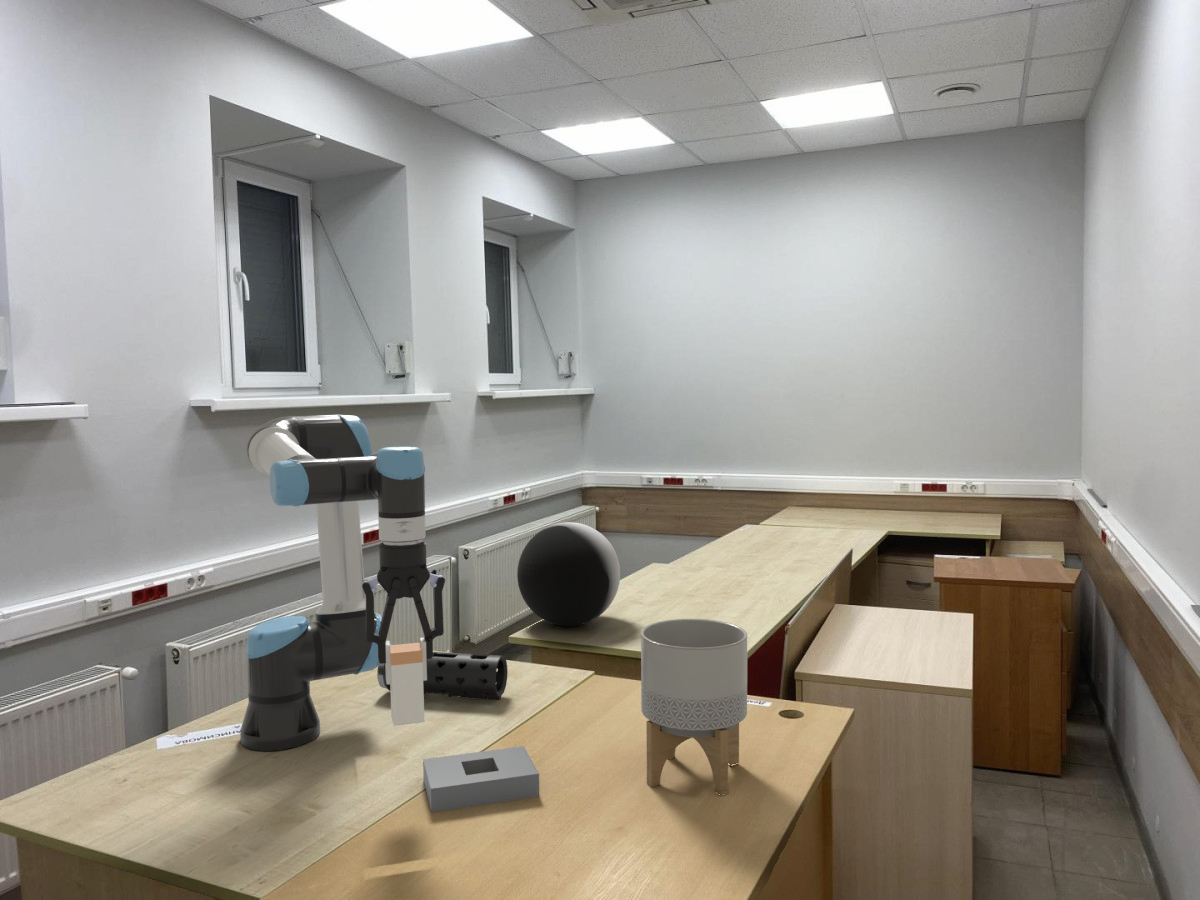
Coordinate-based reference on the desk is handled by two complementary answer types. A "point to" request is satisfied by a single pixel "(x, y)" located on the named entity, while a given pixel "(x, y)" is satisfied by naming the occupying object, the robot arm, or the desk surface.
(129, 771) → the desk surface
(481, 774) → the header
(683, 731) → the planter
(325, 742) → the desk surface
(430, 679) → the muzzle brake
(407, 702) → the plug
